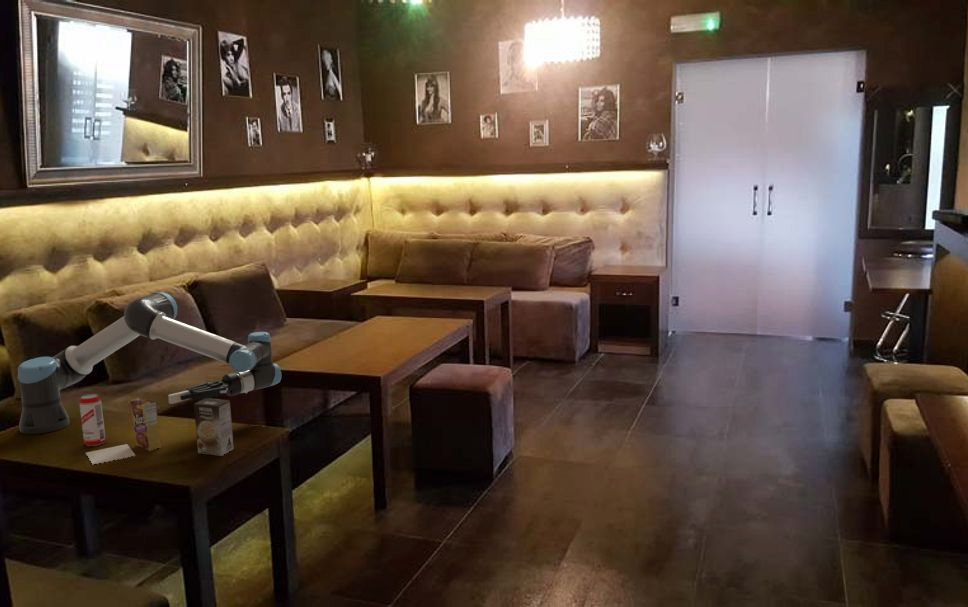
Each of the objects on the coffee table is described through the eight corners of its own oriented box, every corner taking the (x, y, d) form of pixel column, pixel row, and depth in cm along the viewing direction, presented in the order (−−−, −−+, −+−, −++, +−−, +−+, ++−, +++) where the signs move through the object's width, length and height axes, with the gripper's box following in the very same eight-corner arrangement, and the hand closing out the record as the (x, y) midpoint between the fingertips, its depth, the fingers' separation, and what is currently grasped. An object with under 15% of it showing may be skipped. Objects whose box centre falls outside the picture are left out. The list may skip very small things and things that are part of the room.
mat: (85, 453, 246) (85, 452, 246) (127, 445, 253) (127, 443, 253) (92, 465, 237) (92, 464, 236) (135, 456, 243) (135, 454, 243)
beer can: (97, 447, 251) (91, 399, 248) (80, 446, 253) (73, 398, 250) (110, 440, 257) (104, 393, 254) (93, 440, 259) (87, 392, 256)
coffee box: (196, 453, 244) (192, 403, 241) (210, 446, 250) (205, 397, 247) (222, 456, 241) (217, 405, 238) (235, 449, 247) (230, 399, 244)
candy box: (134, 445, 252) (129, 399, 249) (147, 442, 255) (142, 396, 253) (148, 452, 246) (143, 404, 244) (161, 447, 250) (156, 401, 247)
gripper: (247, 397, 266) (179, 414, 250) (229, 390, 275) (162, 406, 259) (245, 375, 265) (176, 391, 249) (227, 369, 274) (159, 384, 258)
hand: (169, 399), depth 254 cm, fingers closed
